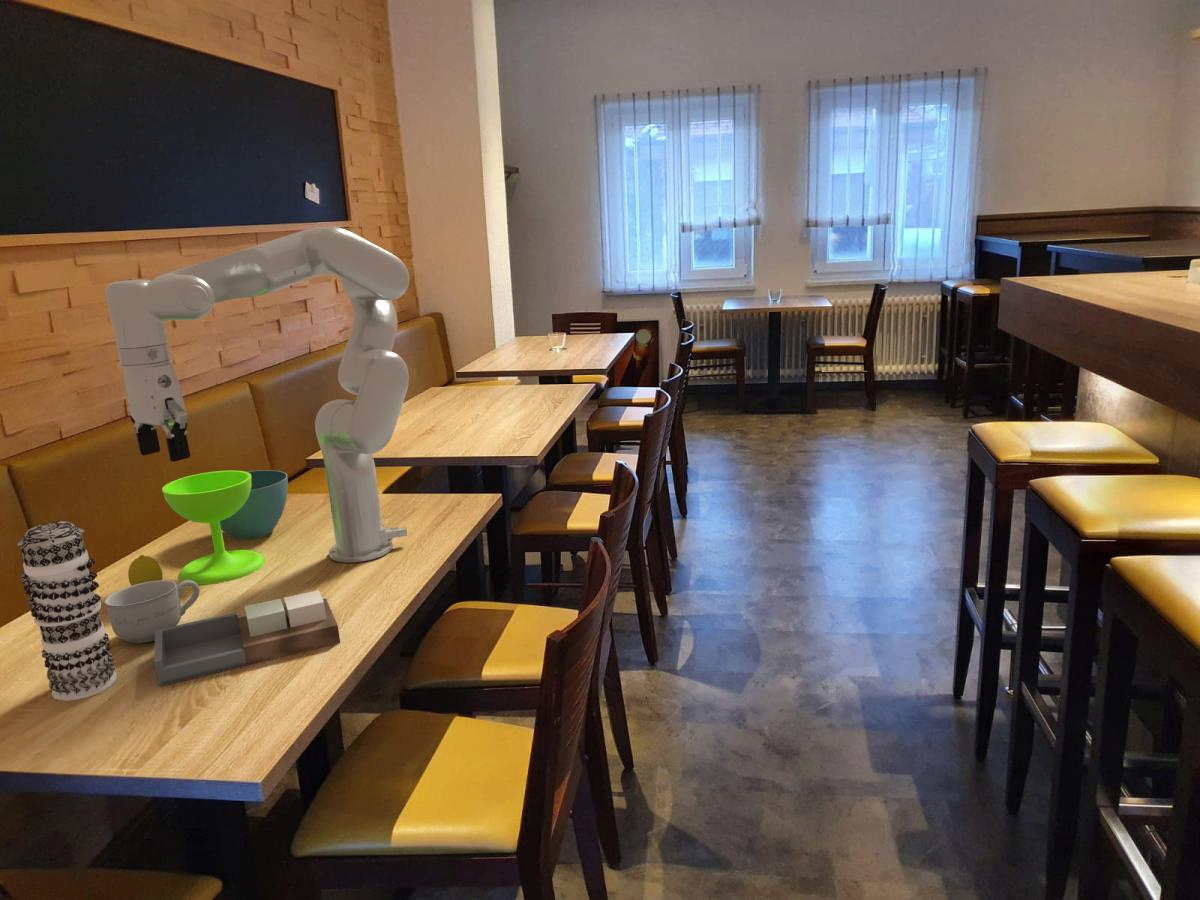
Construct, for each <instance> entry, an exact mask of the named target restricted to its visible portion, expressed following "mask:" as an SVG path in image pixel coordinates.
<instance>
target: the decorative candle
mask: <svg viewBox="0 0 1200 900" xmlns="http://www.w3.org/2000/svg"><path fill="white" fill-rule="evenodd" d="M84 533H85V530H84V529H83V528H81V527H77V526H76V525H75V524H74V523H72V522H70V521H64V520H63V521H52V522H47V523H43V524H38V525H36V526H34V527H32V528H29V529H28V530H27V531H26V532H25V533H24V536H23V538H22V539H21V540H19V541H18V542H17V546H18V547H20V550H21V555H22V559H23V564H22V566H23V571H22V573H21V574H22V575H21V576H20V581H22V584H23V585H24V586H23V590H24V594H25V595H28V597H29V598H28V600H27V603H28V604H29V607H30V614H31V617H32V618H34V620H33V623H34V624H35V625H37V626H38V627H39V630H40V635H41V640H40V641H41V646H42V649H43V650H42V651H41V657H42V658H44V659H45V660H44V667H45V668H46V669H48V670H47V671H46V678H47V680H48V681H49V683H48V687H49V689H51V690H52V692H51V696H52V697H53V699H55V700H56V701H61V702H69V701H70V702H71V701H78V700H83V699H87V698H90V697H93V696H94V695H95V696H96V695H98V694H100V693H102V692H104V691H105V690H107V689H110V688H111V687H112V686H113V685H114V684H115V683H116V682H117V680H118V679H117V678H118V676H117V673H116V672H115V670H116V666H115V663H114V662H113V661H114V660H115V659H114V658H113V654H112V653H110V650H111V644H110V643H109V640H110V638H109V635H108V633H106V630H105V626H104V623H103V622H102V619H101V614H100V610H101V609H102V603H101V598H102V597H101V596H100V594H98V593H97V594H96V593H95V592H94V591H96V590H97V589H98V588H99V587H100V584H99V582H97V581H95V579H96V578H97V577H98V574H97V572H95V571H93V570H90V568H92V567H93V566H94V565H95V564H96V561H95V560H94V559H93V558H91V557H89V552H88V549H86V547H85V542H84V541H85V540H84V538H83V534H84Z"/></svg>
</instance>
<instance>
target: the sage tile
mask: <svg viewBox="0 0 1200 900" xmlns="http://www.w3.org/2000/svg"><path fill="white" fill-rule="evenodd" d="M284 607H285V606H284V605H283V601H282V599H281V598H278V599H273V600H267V601H262V602H258V603H253V604H250V605H249V604H248V605H245V606H244V611H245V616H246V617H247V623H248V628H249V633H250V637H252V636H256V635H261V634H265V633H269V632H274V631H278V630H282V629H286V628H287V623H286V616H285V610H284Z"/></svg>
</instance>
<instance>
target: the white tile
mask: <svg viewBox="0 0 1200 900" xmlns="http://www.w3.org/2000/svg"><path fill="white" fill-rule="evenodd" d="M323 599H324V598H323V596H322V594H321V592H320V590H318V589H317V590H314V591H309V592H305V593H299V594H295V595H291V596H286V597H283V601H284V607H285V608H286V614H287V617H288V621H289V624H290V627H295V626H299V625H304V624H308V623H312V622H317V621H321V620H325V619H326V613H325V606H324V601H323Z"/></svg>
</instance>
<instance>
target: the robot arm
mask: <svg viewBox="0 0 1200 900" xmlns="http://www.w3.org/2000/svg"><path fill="white" fill-rule="evenodd" d="M323 275H336V276H338V277H339V279H340V280H339V281H340V284H341V287H342V289H343V290H344V292H345V294H346V295H347V297H348V299H349V301H350V303H351V306H352V308H353V322H352V326H351V331H350V334H349V338H348V340H347V343H346V346H345V349H344V353H343V355H342V358H341V362H340V363H339V368H338V370H337V378H338V383H339V384H340V387H341V388H342V389H343V390H345V391H346V392H347V393H350V394H353V395H356V400H350V399H344V398H343V399H342V398H341V399H340V398H338V399H333V400H330V401H328V402H326V403H324V404H323V405H322V406H321V408H320V409H319V410H318V412H317V414H316V416H315V421H314V429H315V435H316V438H317V442H318V445H319V449H320V450H321V454H322V458H323V465H324V468H325V469H324V470H325V475H326V481H327V482H326V483H327V490H328V497H329V502H330V505H329V506H330V510H331V511H330V512H331V518H332V525H333V533H334V539H335V544H334V545H332V546H331V547H330V548H329V550H328V555H329V558H330V559H331V560H333V561H335V562H340V563H361V562H367V561H371V560H375V559H378V558H380V557H383V556H385V555H388V553H390V552H391V550H393V547H394V546H393V539H395V538H403V537H407V536H408V529H407V527H406V526H403V527H398V525H395V526H391V527H386V526H384V524H383V519H382V512H381V505H380V504H381V503H380V496H379V489H378V480H377V471H376V465H375V460H374V457H373V454H376V453H379V452H381V451H382V450H384V448H385V447H386V446H387V445H388V444H389V442H390V441H391V438H392V437H393V434H394V432H395V429H396V427H397V422H398V420H399V418H400V414H401V412H402V408H403V405H404V401H405V399H406V396H407V393H408V392H407V391H408V388H409V383H410V382H409V381H410V375H409V373H410V372H409V369H408V365H407V363H406V362H405V361H404V358H403V357H401V356H400V355H399V354H398V353H395V352H393V351H392V350H393V347H394V343H395V341H396V337H397V332H398V331H397V330H398V316H397V315H398V314H397V312H396V309H395V305H394V303H393V300H397V299H399V298H401V297H402V296H403V295H404V294H405V293H406V292H407V290H408V289H409V285H410V280H411V279H410V273H409V270H408V268H407V266H406V264H405V263H404V262H403V261H402V260H401V259H400V258H399V257H398V256H397V255H394V253H391V252H389V251H388V250H385V249H383V248H382V247H380V246H378V245H376V244H374V243H372V242H370V241H369V240H366V239H365V238H363V237H361V236H359V235H357V234H355V233H354V232H352V231H350V230H348V229H346V228H345V229H344V228H342V227H338V226H323V227H313V228H307V229H303V230H301V231H297V232H293V233H291V234H288V235H284V236H282V237H279V238H275V239H272V240H269V241H266V242H263V243H260V244H257V245H253V246H251V247H248V248H245V249H244V248H243V249H239V250H236V251H234V252H230V253H228V254H225V255H222V256H219V257H216V258H212V259H208V260H204V261H201V262H198V263H195V264H192V265H189V266H185V267H181V268H179V269H175V270H173V271H169V272H167V273H166V272H165V273H163V274H160V275H158V276H156V277H155V278H153V279H152V280H150V279H130V280H129V279H127V280H120V281H114V282H111V283H109V284H107V285H106V287H105V297H106V298H105V299H106V302H107V308H108V312H109V316H110V321H111V326H112V331H113V335H114V340H115V344H116V349H117V354H118V355H117V356H118V359H119V364H120V368H121V369H123V372H124V373H123V374H124V382H125V383H124V384H125V389H126V395H127V401H128V403H127V406H126V409H127V410H128V413H129V415H130V421H131V422H132V423H133V430H134V432H135V434H136V438H137V439H136V440H137V444H138V448H139V449H138V450H139V452H140V455H141V456H148V455H151V454H152V455H153V454H155V453H159V452H160V451H161V446H160V440H159V437H158V432H157V429H156V428H155V427H162V429H163V431H164V432H165V433H166V435H167V438H165V441H166V446H167V450H168V456H169V460H170V461H171V462H175V463H176V462H178V461H183V460H186V459H190V457H191V452H190V447H189V441H188V437H187V435H188V431H187V427H188V423H187V422H188V421H187V419H188V413H187V409H186V405H185V400H184V396H183V392H182V388H181V385H180V383H179V382H180V381H179V379H178V376H177V375H178V374H177V373H176V370H175V368H174V366H173V364H172V363H173V362H172V355H171V352H170V346H169V341H168V336H167V331H166V330H167V329H166V326H165V321H166V322H168V321H185V322H186V321H196V320H200V319H202V318H204V317H206V316H207V315H208V314H209V313H210V312H211V311H212V310H213V308H214V305H215V304H217V303H221V302H226V301H230V300H235V299H244V298H255V297H260V296H265V295H270V294H273V293H275V292H277V291H280V290H283V289H285V288H288V287H291V286H295V285H296V284H299V283H302V282H306V281H308V280H310V279H314V278H316V277H319V276H320V277H321V276H323ZM154 426H155V427H154ZM171 426H172V427H171Z"/></svg>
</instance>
